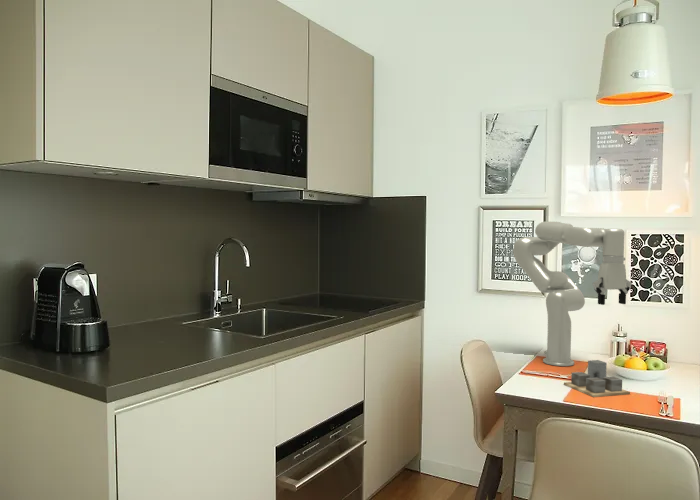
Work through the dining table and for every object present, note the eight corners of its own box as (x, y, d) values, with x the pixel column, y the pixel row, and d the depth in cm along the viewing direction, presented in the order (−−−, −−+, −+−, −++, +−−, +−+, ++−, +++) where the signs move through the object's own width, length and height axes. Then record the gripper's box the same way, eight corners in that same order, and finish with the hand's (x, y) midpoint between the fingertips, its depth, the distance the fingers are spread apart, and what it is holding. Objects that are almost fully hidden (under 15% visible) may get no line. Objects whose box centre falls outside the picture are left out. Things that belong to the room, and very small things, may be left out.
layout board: (563, 384, 209) (564, 371, 209) (598, 382, 213) (598, 369, 213) (593, 397, 193) (593, 383, 193) (630, 394, 197) (630, 380, 197)
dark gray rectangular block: (587, 382, 209) (588, 360, 209) (597, 381, 211) (598, 360, 210) (595, 385, 205) (596, 363, 205) (605, 384, 206) (606, 362, 206)
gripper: (624, 259, 227) (623, 302, 227) (587, 259, 222) (586, 303, 223) (638, 260, 220) (637, 304, 220) (600, 260, 215) (599, 305, 216)
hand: (611, 304), depth 221 cm, fingers open, 9 cm apart
